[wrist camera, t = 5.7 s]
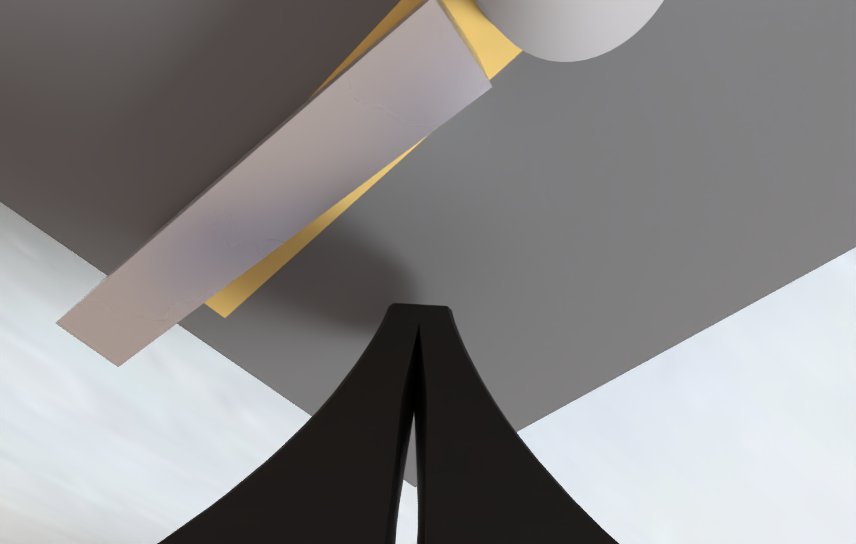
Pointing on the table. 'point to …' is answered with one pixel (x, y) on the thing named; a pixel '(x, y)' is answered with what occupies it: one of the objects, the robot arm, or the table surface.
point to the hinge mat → (457, 172)
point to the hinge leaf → (287, 180)
